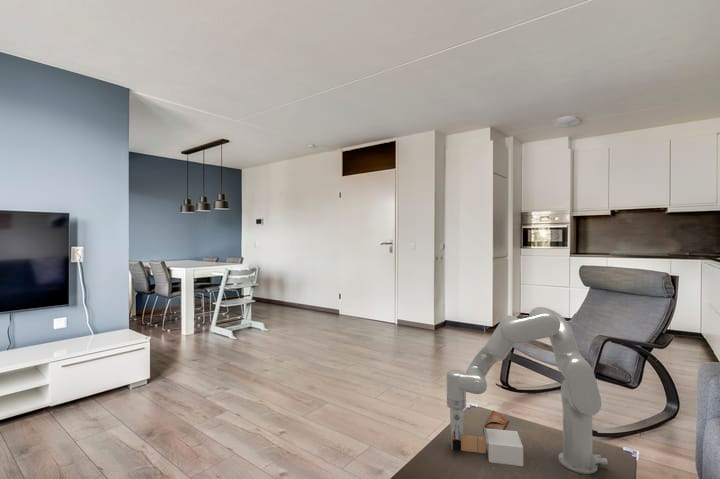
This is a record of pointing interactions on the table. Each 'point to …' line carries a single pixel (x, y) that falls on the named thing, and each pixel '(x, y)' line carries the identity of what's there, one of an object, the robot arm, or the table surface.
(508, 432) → the white box
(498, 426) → the sunglasses case
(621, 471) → the table surface
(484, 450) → the tan banded plank
